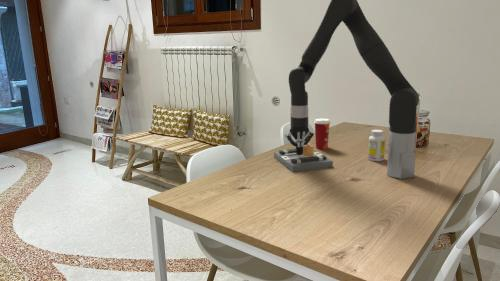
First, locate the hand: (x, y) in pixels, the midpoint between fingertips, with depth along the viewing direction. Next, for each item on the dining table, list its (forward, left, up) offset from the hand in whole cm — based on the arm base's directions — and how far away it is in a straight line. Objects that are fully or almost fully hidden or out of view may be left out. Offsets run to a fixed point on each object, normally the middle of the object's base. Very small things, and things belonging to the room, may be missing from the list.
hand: (299, 154), depth 167 cm
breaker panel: (0, -1, -3) cm, 4 cm away
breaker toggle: (0, -4, -1) cm, 4 cm away
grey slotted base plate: (0, -1, -3) cm, 4 cm away
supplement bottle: (-9, -32, -4) cm, 34 cm away
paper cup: (+17, -19, -4) cm, 26 cm away
